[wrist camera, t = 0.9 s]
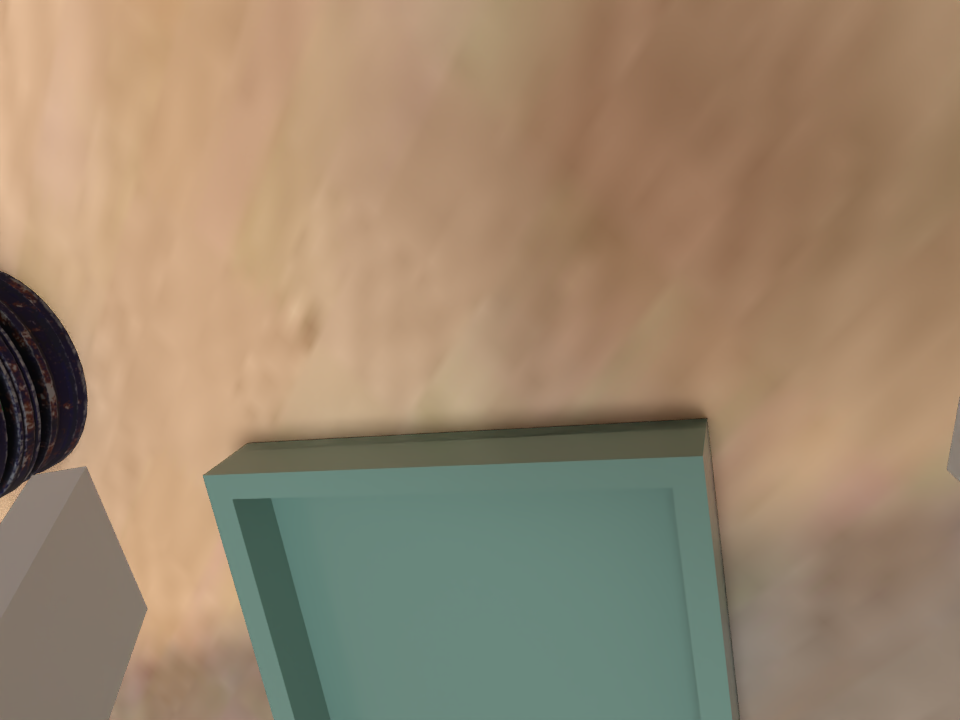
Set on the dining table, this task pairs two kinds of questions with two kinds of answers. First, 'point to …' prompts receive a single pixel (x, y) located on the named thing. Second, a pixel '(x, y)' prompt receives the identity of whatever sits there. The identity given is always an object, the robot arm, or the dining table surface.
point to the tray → (483, 574)
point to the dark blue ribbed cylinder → (35, 387)
